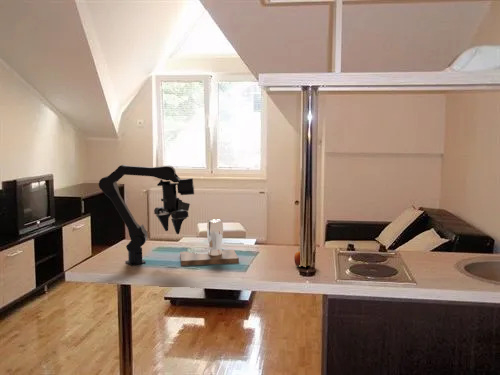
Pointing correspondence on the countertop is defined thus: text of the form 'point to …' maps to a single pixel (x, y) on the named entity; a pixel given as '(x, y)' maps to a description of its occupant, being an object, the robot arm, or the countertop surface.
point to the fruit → (297, 259)
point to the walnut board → (208, 258)
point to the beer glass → (215, 236)
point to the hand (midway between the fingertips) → (172, 232)
